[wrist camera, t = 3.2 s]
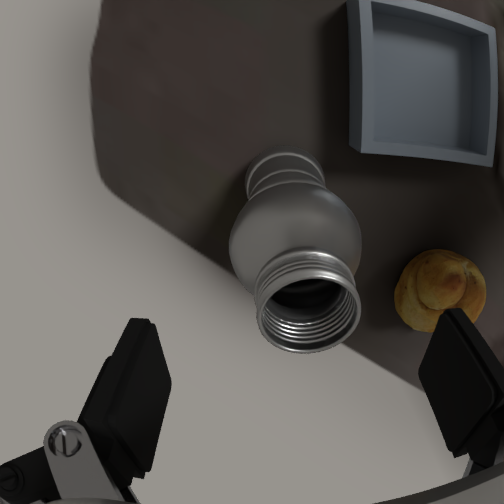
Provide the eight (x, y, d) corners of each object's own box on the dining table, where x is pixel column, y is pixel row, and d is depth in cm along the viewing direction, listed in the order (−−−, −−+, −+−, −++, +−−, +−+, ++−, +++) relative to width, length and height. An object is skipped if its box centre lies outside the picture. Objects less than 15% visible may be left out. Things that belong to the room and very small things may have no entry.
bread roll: (486, 260, 32) (520, 296, 24) (448, 321, 36) (473, 362, 29) (414, 227, 30) (449, 265, 23) (374, 300, 35) (394, 348, 28)
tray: (346, 1, 20) (357, -12, 17) (472, 31, 20) (494, 28, 16) (348, 145, 27) (360, 152, 23) (470, 157, 26) (492, 167, 23)
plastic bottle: (320, 206, 30) (386, 368, 12) (249, 211, 30) (226, 380, 12) (318, 139, 27) (415, 227, 9) (242, 144, 27) (197, 239, 10)
